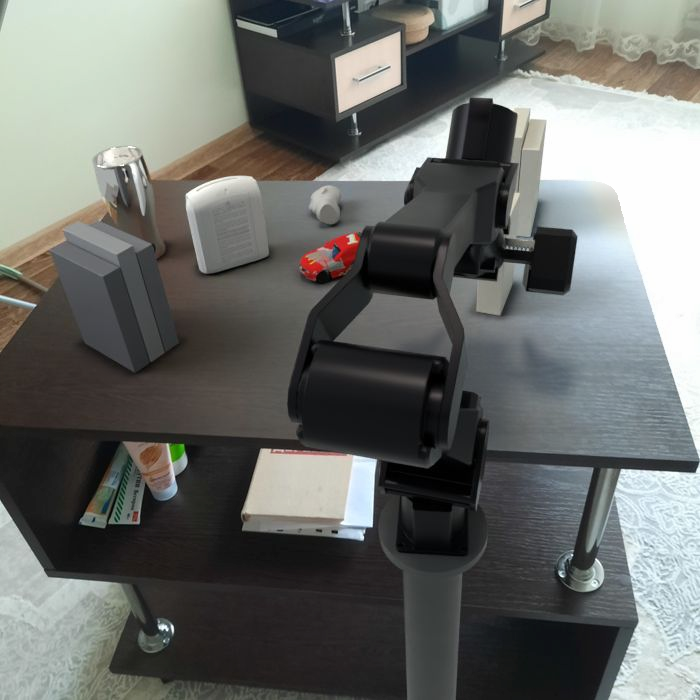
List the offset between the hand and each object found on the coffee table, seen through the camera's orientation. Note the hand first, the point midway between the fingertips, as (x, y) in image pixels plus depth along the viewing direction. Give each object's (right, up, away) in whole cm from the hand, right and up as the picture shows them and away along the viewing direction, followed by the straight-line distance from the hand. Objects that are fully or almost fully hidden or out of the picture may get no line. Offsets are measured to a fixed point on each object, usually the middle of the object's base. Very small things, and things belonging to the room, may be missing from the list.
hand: (483, 271), depth 81 cm
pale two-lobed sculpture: (-19, +12, +30) cm, 37 cm away
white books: (+9, +11, +25) cm, 29 cm away
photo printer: (-31, +4, +21) cm, 38 cm away
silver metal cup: (-45, +5, +25) cm, 51 cm away
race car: (-15, +3, +18) cm, 24 cm away
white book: (+3, -2, +10) cm, 11 cm away
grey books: (-42, -8, +8) cm, 43 cm away
